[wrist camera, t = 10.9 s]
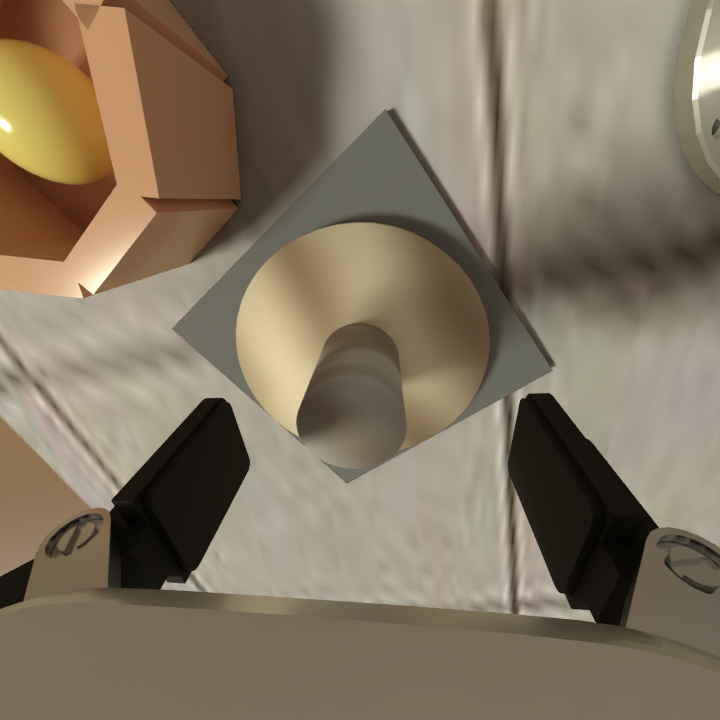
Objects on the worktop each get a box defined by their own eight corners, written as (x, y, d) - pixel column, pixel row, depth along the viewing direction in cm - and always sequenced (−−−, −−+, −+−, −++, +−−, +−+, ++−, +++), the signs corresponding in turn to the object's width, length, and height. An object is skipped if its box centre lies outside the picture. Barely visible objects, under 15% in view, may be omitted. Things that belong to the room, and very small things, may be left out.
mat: (385, 111, 13) (385, 108, 12) (549, 367, 17) (552, 370, 17) (176, 325, 18) (172, 328, 17) (347, 479, 22) (346, 483, 22)
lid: (381, 152, 13) (381, 110, 7) (527, 367, 17) (605, 456, 11) (197, 332, 17) (101, 401, 11) (349, 469, 21) (337, 573, 15)
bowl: (52, -150, 10) (-313, -538, 5) (288, 153, 14) (227, 122, 8) (-54, 118, 14) (-329, 66, 8) (153, 303, 17) (50, 349, 12)
